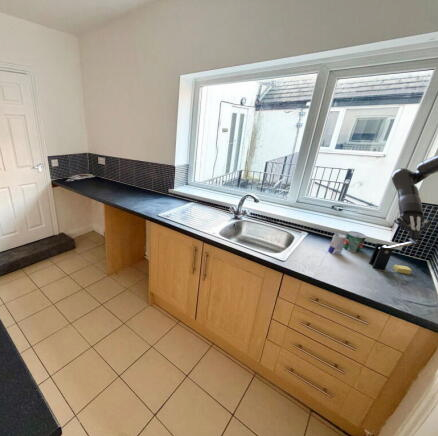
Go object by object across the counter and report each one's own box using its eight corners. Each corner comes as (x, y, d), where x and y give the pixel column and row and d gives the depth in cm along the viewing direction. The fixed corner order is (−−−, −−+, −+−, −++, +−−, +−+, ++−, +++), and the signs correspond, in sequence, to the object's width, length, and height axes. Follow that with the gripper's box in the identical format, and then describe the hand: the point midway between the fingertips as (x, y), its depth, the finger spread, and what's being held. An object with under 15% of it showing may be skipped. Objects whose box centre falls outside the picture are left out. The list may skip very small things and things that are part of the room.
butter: (405, 271, 116) (407, 266, 115) (409, 275, 113) (412, 270, 112) (392, 269, 118) (394, 264, 117) (396, 272, 114) (398, 268, 113)
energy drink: (328, 251, 135) (335, 232, 130) (340, 255, 131) (347, 235, 127) (326, 255, 131) (333, 235, 127) (338, 258, 128) (345, 238, 123)
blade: (413, 241, 112) (412, 237, 111) (421, 246, 107) (419, 241, 107) (377, 249, 118) (376, 245, 117) (383, 254, 113) (381, 250, 113)
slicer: (384, 267, 120) (393, 244, 116) (392, 275, 113) (403, 251, 109) (359, 263, 124) (367, 240, 119) (366, 271, 117) (375, 247, 112)
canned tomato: (338, 247, 139) (344, 230, 135) (354, 249, 138) (360, 231, 134) (345, 254, 132) (352, 236, 128) (362, 256, 131) (369, 238, 126)
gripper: (397, 200, 114) (402, 233, 108) (434, 203, 110) (441, 238, 104) (387, 207, 121) (391, 239, 114) (422, 211, 117) (428, 244, 110)
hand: (415, 239), depth 109 cm, fingers closed
